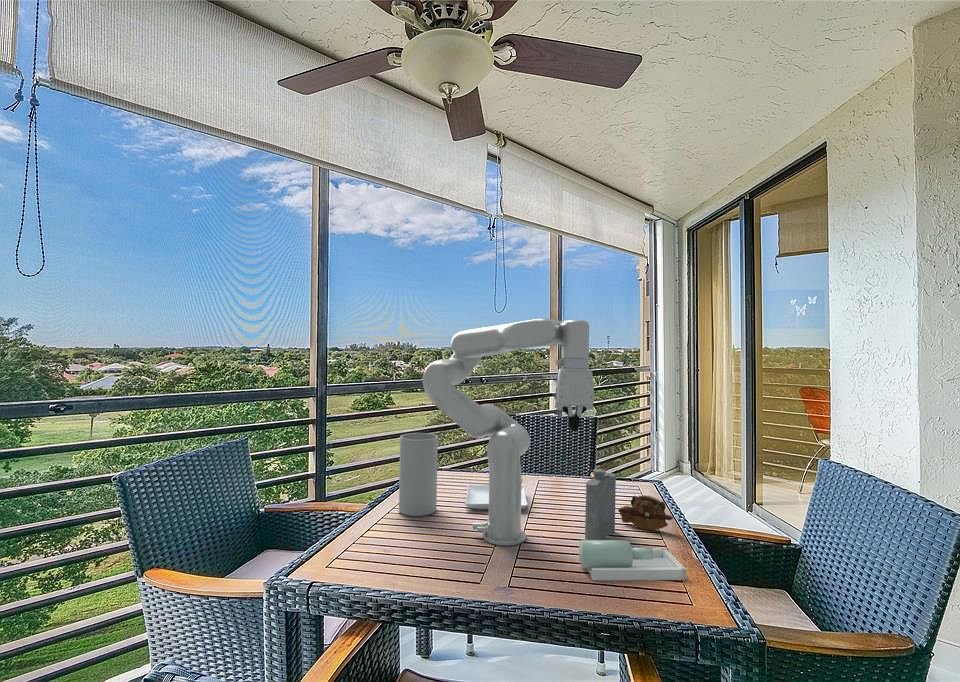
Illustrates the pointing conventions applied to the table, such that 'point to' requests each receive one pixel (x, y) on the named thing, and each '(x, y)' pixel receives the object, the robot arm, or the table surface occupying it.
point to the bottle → (611, 553)
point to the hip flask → (600, 505)
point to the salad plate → (485, 497)
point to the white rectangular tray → (644, 569)
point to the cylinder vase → (418, 474)
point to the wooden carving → (645, 513)
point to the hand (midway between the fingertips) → (573, 430)
